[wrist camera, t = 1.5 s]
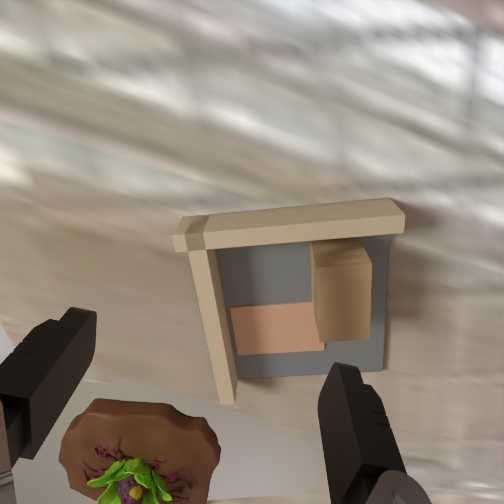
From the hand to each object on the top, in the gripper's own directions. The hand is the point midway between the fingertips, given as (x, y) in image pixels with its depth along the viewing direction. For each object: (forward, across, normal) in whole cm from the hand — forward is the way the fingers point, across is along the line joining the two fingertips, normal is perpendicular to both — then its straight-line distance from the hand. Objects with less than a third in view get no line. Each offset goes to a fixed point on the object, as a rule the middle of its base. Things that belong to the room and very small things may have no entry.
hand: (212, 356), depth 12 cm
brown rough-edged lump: (+22, +5, +38) cm, 44 cm away
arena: (+21, -7, +10) cm, 24 cm away
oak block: (+20, -9, +6) cm, 23 cm away
